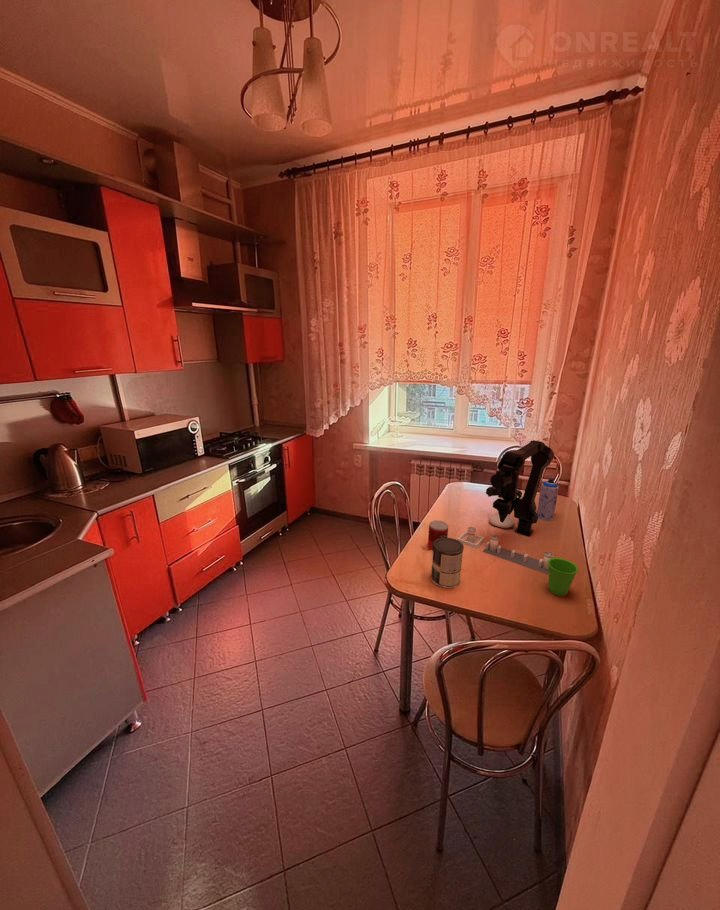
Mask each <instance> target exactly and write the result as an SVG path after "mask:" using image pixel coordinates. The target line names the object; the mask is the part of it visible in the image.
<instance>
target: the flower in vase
mask: <svg viewBox="0 0 720 910" xmlns="http://www.w3.org/2000/svg"><path fill="white" fill-rule="evenodd" d="M498 498H499V499H503V498H502V497H501V498H500V497H498ZM503 500H504V499H503ZM488 521H489V523H490V524H491V525H493V526H494V527H498V528H502V529H509V528H510V529H511V528H512V527H514V525H515V521H514V519H513V518H512V517H511V516H510V515H509V514H508V515H507V517H506V519H505V520H504V522H503V523H502V522H500V518H499V513H498V512H496V513H494V514H492V515H490V517H489V518H488Z"/></svg>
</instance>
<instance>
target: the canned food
mask: <svg viewBox="0 0 720 910" xmlns="http://www.w3.org/2000/svg"><path fill="white" fill-rule="evenodd" d="M428 524H429V525H428V538H427V548H428V549H427V550H428V551H433V543H434V541H435V540H436V539H438V538H449V537H448V536H449V535H448V534H449V524H448V523H447V522H445V521H442V520H439V519H438V520H432V521H430V522H429V523H428Z"/></svg>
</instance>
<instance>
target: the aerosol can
mask: <svg viewBox="0 0 720 910" xmlns="http://www.w3.org/2000/svg"><path fill="white" fill-rule="evenodd" d="M559 490H560V489H559V485H558V484H557V482H555V480H554V478H549V479H548V480H546V481H544V482H542V483H541V485H540V491H539V497H538V498H539V499H538V505H537V508H536V513H537V515H538V520H541V521H544V522H545V521H546V522H552V521H554V519H555V511H556V506H557V500H558V494H559Z"/></svg>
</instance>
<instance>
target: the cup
mask: <svg viewBox="0 0 720 910" xmlns="http://www.w3.org/2000/svg"><path fill="white" fill-rule="evenodd" d="M548 565H549V575H548V590H549V591H550V593H552V594H553V595H555V596H558V597H566V596H567V595H568V592H569V590H570V588H571V586H572V583H573V581H574V579H575V577H576V575H577V573H578V572H579V567H578V565H576V563H574V562H572V560H571V561H570V560H568V559H565V558H562V557H561V558H560V557H554V558H551V559H549V560H548Z"/></svg>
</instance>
